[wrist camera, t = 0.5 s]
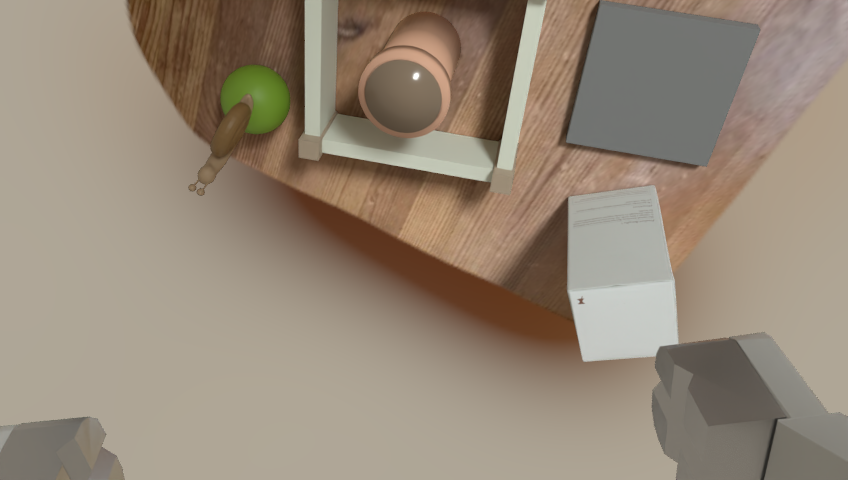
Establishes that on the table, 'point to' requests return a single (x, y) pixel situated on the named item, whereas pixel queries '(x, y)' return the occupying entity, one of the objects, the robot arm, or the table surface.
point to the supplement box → (620, 275)
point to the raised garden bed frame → (419, 153)
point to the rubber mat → (658, 82)
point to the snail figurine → (245, 114)
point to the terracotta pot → (412, 77)
